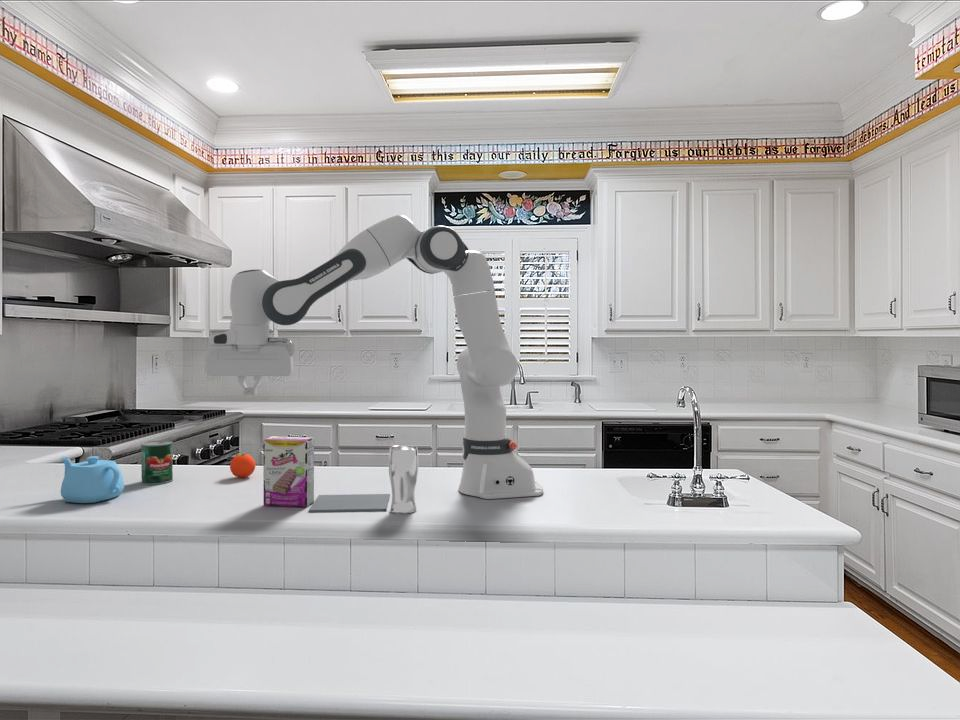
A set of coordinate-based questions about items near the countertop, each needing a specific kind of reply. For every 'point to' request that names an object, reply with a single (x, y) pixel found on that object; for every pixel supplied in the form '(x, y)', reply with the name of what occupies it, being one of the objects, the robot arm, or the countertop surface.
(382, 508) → the grey rubber mat
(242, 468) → the clementine
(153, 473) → the canned tomato
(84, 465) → the teapot
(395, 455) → the beer glass
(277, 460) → the candy bar box
